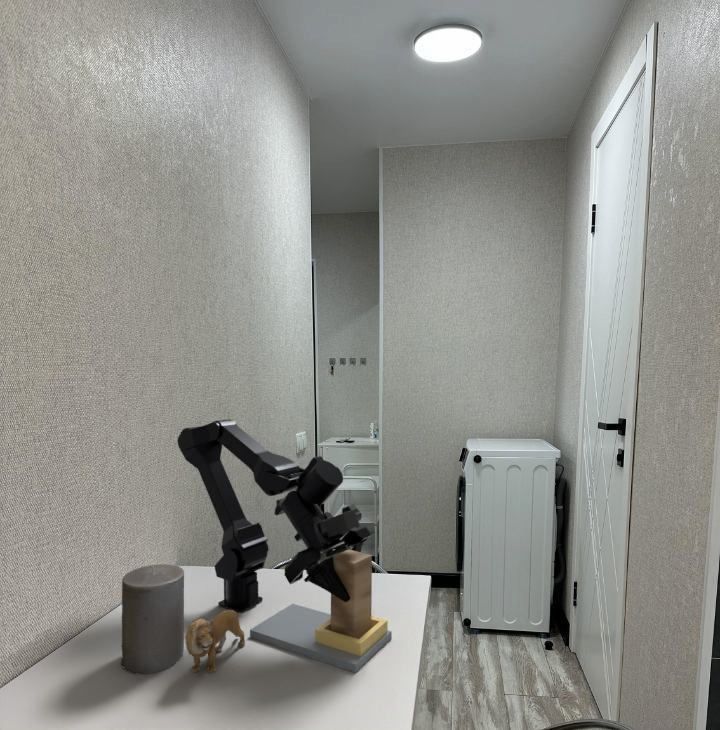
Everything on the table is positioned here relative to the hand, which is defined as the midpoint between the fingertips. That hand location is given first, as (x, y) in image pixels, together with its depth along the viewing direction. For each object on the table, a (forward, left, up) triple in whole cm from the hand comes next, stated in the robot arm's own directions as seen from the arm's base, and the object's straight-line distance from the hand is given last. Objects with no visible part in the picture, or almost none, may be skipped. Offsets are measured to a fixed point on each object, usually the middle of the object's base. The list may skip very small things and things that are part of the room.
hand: (357, 594), depth 89 cm
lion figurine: (-17, -16, -9) cm, 25 cm away
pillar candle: (-27, -20, -9) cm, 35 cm away
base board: (-7, -1, -9) cm, 11 cm away
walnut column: (-1, 0, -7) cm, 7 cm away
